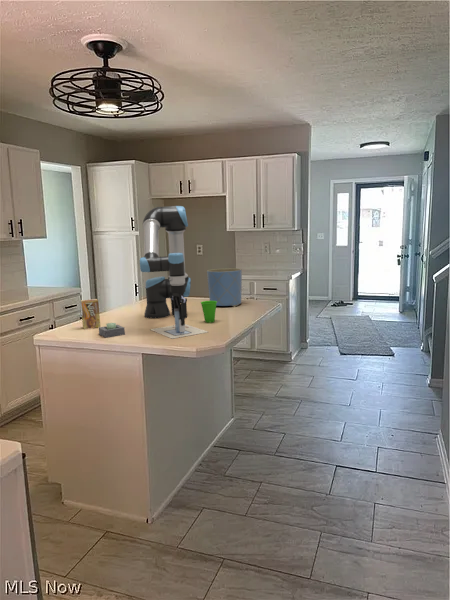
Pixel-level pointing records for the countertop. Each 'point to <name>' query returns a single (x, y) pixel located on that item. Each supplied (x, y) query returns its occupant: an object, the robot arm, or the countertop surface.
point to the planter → (225, 286)
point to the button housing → (111, 331)
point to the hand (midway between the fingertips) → (180, 330)
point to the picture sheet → (172, 334)
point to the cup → (209, 310)
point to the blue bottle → (177, 320)
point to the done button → (111, 325)
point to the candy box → (90, 313)
